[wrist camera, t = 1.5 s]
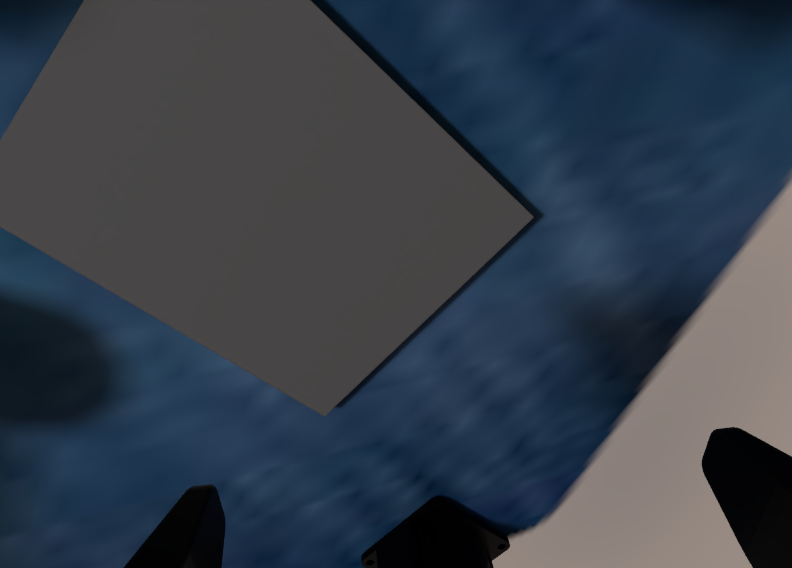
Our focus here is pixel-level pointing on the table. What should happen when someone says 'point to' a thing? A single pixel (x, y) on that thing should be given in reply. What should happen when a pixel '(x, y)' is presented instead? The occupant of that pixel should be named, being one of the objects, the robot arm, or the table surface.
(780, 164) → the table surface
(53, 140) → the mat
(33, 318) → the table surface
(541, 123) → the table surface
